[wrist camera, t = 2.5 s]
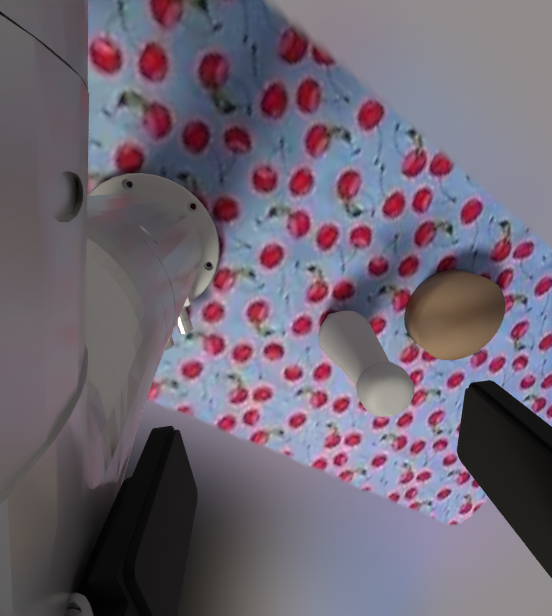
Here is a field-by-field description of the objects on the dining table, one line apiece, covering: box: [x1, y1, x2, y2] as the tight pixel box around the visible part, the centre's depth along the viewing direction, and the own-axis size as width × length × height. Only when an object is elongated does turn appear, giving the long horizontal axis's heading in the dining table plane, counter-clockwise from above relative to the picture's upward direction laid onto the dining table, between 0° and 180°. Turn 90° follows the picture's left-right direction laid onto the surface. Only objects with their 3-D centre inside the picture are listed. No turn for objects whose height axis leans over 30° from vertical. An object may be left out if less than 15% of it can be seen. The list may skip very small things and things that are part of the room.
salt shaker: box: [318, 311, 415, 417], centre depth 29 cm, size 6×6×13 cm
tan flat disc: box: [404, 269, 505, 360], centre depth 34 cm, size 10×10×3 cm
